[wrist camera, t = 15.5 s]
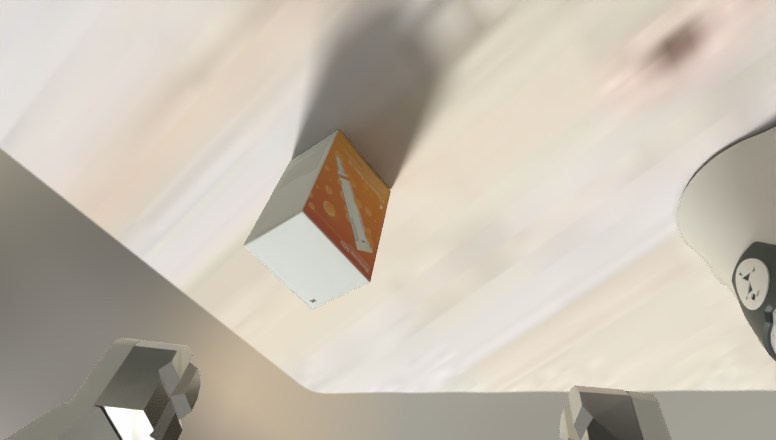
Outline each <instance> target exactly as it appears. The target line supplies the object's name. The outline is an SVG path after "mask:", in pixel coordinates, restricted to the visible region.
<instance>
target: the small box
mask: <svg viewBox="0 0 776 440" xmlns="http://www.w3.org/2000/svg"><path fill="white" fill-rule="evenodd" d="M389 196H390V189H389V188H388V187H387V186H386V185H385V184H384V183H383V182H382V181H381V180H380V178H379V177H378V176H377V175H376V174H375V173H374V171H373V170H372V169H371V168H370V167H369V165H368V164H367V163H366V162H365V161H364V160H363V158H362V157H361V156H360V155H359V153H358V152H357V151H356V150H355V148H354V147H353V146H352V145H351V144H350V142H349V141H348V140H347V139H346V137H345V136H344V135H343V134H342V132H341V131H340V130H337V131H335V132H334V133H332V134H331V135H329V136H328V137H326V138H325V139H323V140H321V141H320V142H318V143H317V144H315V145H314V146H312V147H311V148H309V149H308V150H306V151H305V152H303V153H302V154H300V155H299V156H297V157H296V158H294V159H292V160H291V161H290V163H289V164H288V166H287V168H286V170H285V171H284V173H283V175H282V177H281V179H280V180H279V182H278V184H277V186H276V188H275V189H274V191H273V193H272V195H271V197H270V199H269V201H268V202H267V204H266V206H265V208H264V209H263V211H262V213H261V215H260V217H259V219H258V220H257V222H256V224H255V226H254V228H253V229H252V231H251V233H250V235H249V237H248V238H247V240H246V242H245V243H244V246H245V247H246V248H247V249H248V250H249V251H250V252H251V253H252V254H253V255H254V256H255V257H256V258H257V259H258V260H259V261H260V262H261V263H262V264H264V265H265V266H266V267H267V268H268V269H269V270H270V271H271V272H272V273H273V275H274V276H275V277H276V278H277V279H278V280H279V281H280V282H282V283H283V284H284V285H285V286H287V287H288V288H289V289H290V290H292V291H293V292H294V293H295V294H296V295H297V296H298V297H299V298H300V299H301V300H303V301H304V302H305V303H306V304H307V305H308V306H309V307H310V308H311V309H315V308H317V307H319V306H321V305H323V304H326V303H328V302H330V301H332V300H334V299H336V298H338V297H341V296H343V295H345V294H347V293H349V292H351V291H353V290H355V289H357V288H359V287H361V286H363V285H365V284H368V283H370V280H371V276H372V271H373V267H374V262H375V258H376V253H377V249H378V245H379V240H380V236H381V231H382V227H383V223H384V218H385V214H386V209H387V205H388V200H389Z"/></svg>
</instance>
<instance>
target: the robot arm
mask: <svg viewBox="0 0 776 440" xmlns="http://www.w3.org/2000/svg"><path fill="white" fill-rule="evenodd" d="M677 225H678V229H679V232H680V235H681V237H682V238H683V240H684V241H685V242H686V244H687V245H688V246H689V247H690V248H691V249H692V250H694V251H695V252H696V253H697V254H698V255H699V256H700V257H701V258H702V259H703V260H704V261H705V262H706V263H707V264H708V265H709V266H710V269H711V271H712V273H713V274H714V276H715V277H716V278H717V280H718V281H719V282H720V283H721V284H723V285H726V286H727V287H728V289H729V290H730V291H731V292H732V293H733V295H734V296H735V297H736V298H737V300H738V301H739V303H740V306H741V308H742V310H743V313H744V315H745V317H746V319H747V321H748V322H749V324H750V326H751V327H752V329H753V331H754V332H755V334H756V335H757V337H758V338H759V339H758V340H759V341H760V343H761V344H762V346H763V347H764V348H765V349H766V351H767V352H768V354H769V355H770V356H771V357H772V358H773V359H774V360H775V361H776V126H775V127H773V128H771V129H770V130H767V131H765V132H763V133H760V134H758V135H756V136H753V137H751V138H748V139H746V140H744V141H741V142H739V143H737V144H735V145H733V146H732V147H730V148H728V149H726V150H725V151H723V152H722V153H720V154H719V155H717V156H716V157H715V158H713V159H712V160H711V161H709V162H708V163H707V164H706V165H705V166H704V167H703V168H702V169H701V170H700V171H699V172H698V173H697V174H696V175H695V176H694V177H693V179H692V180H691V181H690V183H689V184H688V186H687V187H686V189H685V191H684V192H683V194H682V197H681V199H680V202H679V205H678V210H677ZM192 356H193V355H192V352H191V350H190V348H189V346H184V345H177V344H168V343H159V342H151V341H144V340H137V339H127V338H119V339H117V340H116V341H114V342H113V343H112V344H111V345H110V346H109V348H108V349H107V351H106V352H105V354H104V355H103V356H102V358H101V359H100V361H99V362H98V363H97V365H96V366H95V368H94V369H93V370H92V372H91V373H90V375H89V376H88V378H87V379H86V380H85V382H84V383H83V384H82V386H81V387H80V389H79V390H78V392H77V393H76V395H75V396H74V397H73V399H72V400H71V401H70V403H61V404H60V405H58V406H57V407H55V408H53V409H52V410H50V411H49V412H47V413H46V414H44V415H42V416H41V417H40V418H38V419H36V420H35V421H33V422H31V423H30V424H28V425H27V426H25V427H24V428H22V429H20V430H19V431H17V432H16V433H14V434H13V435H11V436H10V437H8V438H6V439H5V440H178V439H179V436H180V434H181V432H182V425H181V421H180V419H182V418H183V417H184V416H186V415H187V414H188V413H190V412H191V411H192V409H193V407H194V405H195V402H196V401H197V398H198V394H199V389H200V374H199V371H198V368H196V367H195V366H194V365H193V364H191V363H190V360H191V358H192ZM569 401H570V405H569V406H567V407H565V408H564V409H563V412H562V415H561V419H560V430H559V433H560V440H672V439H671V436H670V433H669V431H668V428H667V425H666V422H665V419H664V417H663V414H662V411H661V408H660V405H659V402H658V400H657V398H656V397H655V396H654V395H653V394H651V393H643V392H631V391H624V390H619V389H608V388H597V387H585V386H574V387H572V388H571V391H570V393H569Z"/></svg>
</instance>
